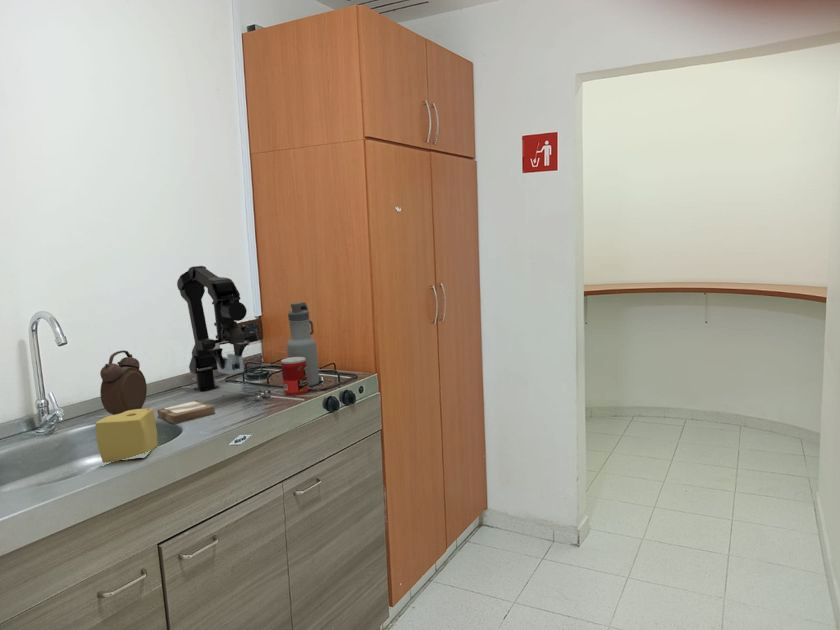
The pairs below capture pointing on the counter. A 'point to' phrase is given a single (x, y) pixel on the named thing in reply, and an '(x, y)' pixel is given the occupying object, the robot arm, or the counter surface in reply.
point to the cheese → (126, 434)
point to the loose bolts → (262, 395)
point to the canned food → (294, 375)
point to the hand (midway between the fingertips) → (230, 367)
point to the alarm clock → (122, 385)
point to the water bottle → (303, 340)
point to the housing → (232, 364)
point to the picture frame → (185, 412)
